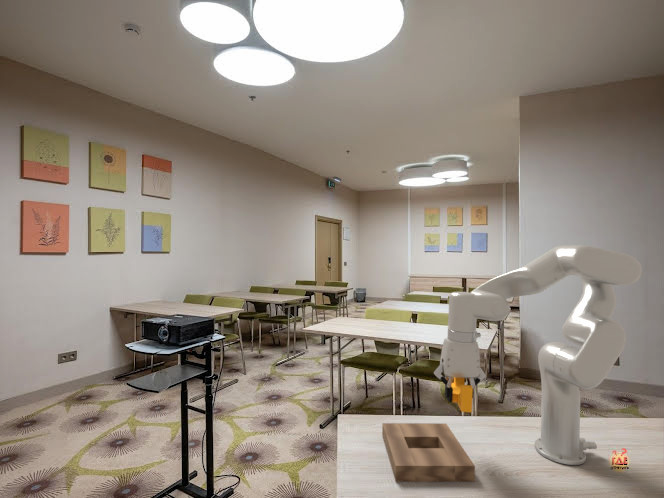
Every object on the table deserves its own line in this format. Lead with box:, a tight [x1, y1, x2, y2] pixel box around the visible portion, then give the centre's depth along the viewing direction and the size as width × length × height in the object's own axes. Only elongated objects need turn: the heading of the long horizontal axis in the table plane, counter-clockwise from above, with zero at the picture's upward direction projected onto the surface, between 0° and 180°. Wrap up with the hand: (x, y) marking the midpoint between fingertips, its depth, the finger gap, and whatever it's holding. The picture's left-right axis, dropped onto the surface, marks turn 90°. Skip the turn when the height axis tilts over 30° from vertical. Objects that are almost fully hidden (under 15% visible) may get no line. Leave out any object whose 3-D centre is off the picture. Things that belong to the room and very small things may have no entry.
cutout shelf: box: [381, 422, 476, 483], centre depth 103 cm, size 20×22×4 cm
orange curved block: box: [451, 377, 474, 414], centre depth 103 cm, size 12×4×6 cm, turn 171°
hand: (458, 399), depth 103 cm, fingers closed on orange curved block, 4 cm apart
